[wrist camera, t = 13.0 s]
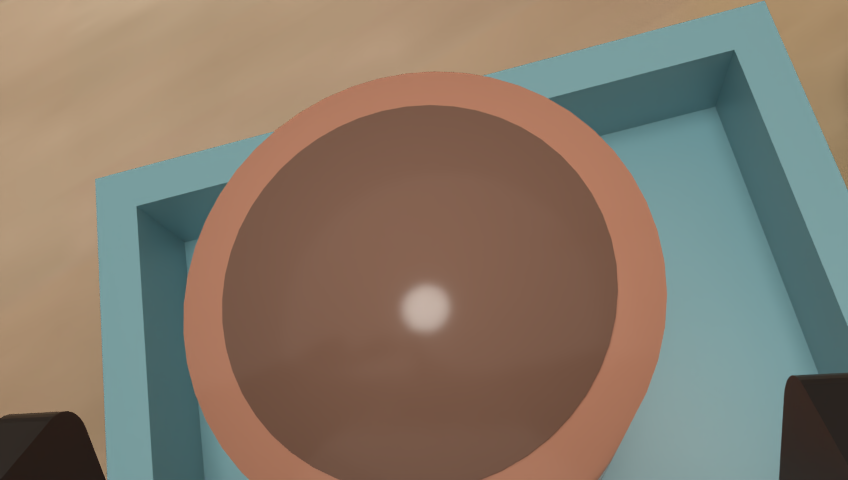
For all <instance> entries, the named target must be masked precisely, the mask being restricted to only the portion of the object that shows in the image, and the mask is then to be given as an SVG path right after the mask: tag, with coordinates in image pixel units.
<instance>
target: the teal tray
mask: <svg viewBox="0 0 848 480" xmlns="http://www.w3.org/2000/svg"><path fill="white" fill-rule="evenodd" d="M484 76H485V77H491V78H495V79H498V80H502V81H505V82H509V83H512V84H515V85H519V86H521V87H523V88H526V89H528V90H530V91H533V92H535V93H537V94H540V95H542V96H544V97H546V98H548V99H550V100H551V101H553V102H555V103H556V104H558V105H560V106H562V107H563V108H565V109H567V110H568V111H570V112H571V113H573V114H574V115H575V116H576V117H578V118H579V119H580V120H582V121H583V122H584V123H585V124H587V125H588V126H589V127H591V128H592V129H593V130H594V131H595V132H596V133H597V134H598V135H599V136H600V137H601V138H602V139H603V140H604V141H605V142H606V143H607V144H608V145H609V146H610V147H611V148H612V149H613V150H614V151H615V153H616V154H617V156H618V157H619V158H620V160H621V161H622V162H623V164H624V165H625V166H626V168H627V169H628V170H629V172H630V173H631V174H632V176H633V178H634V180H635V181H636V183H637V185H638V187H639V189H640V191H641V192H642V194H643V196H644V198H645V200H646V202H647V204H648V207H649V209H650V212H651V215H652V217H653V220H654V223H655V225H656V228H657V231H658V235H659V239H660V244H661V248H662V253H663V257H664V262H665V274H666V286H667V304H666V320H665V330H664V335H663V339H662V344H661V349H660V354H659V359H658V362H657V365H656V368H655V371H654V373H653V376H652V379H651V382H650V384H649V387H648V390H647V393H646V395H645V397H644V399H643V401H642V402H641V404H640V406H639V408H638V410H637V412H636V414H635V416H634V418H633V420H632V422H631V424H630V426H629V428H628V430H627V432H626V434H625V436H624V438H623V439H622V441H621V443H620V445H619V447H618V449H617V451H616V453H615V455H614V457H613V459H612V461H611V463H610V465H609V467H608V469H607V471H606V472H605V474H604V476H603V478H602V480H779V469H780V453H781V436H782V419H783V403H784V390H785V385H786V382H787V379H788V378H789V377H790V376H791V375H810V374H829V373H848V190H847V188H846V185H845V183H844V181H843V178H842V176H841V174H840V172H839V169H838V167H837V165H836V162H835V160H834V158H833V156H832V153H831V151H830V149H829V147H828V144H827V142H826V140H825V137H824V135H823V133H822V131H821V128H820V126H819V124H818V122H817V119H816V117H815V115H814V112H813V110H812V108H811V106H810V103H809V101H808V99H807V96H806V94H805V92H804V90H803V87H802V85H801V83H800V81H799V78H798V76H797V74H796V71H795V69H794V67H793V65H792V62H791V60H790V58H789V56H788V53H787V51H786V49H785V46H784V44H783V42H782V40H781V37H780V35H779V33H778V30H777V28H776V26H775V24H774V21H773V19H772V17H771V15H770V12H769V10H768V8H767V5H766V3H765V1H762V2H758V3H754V4H751V5H747V6H743V7H739V8H736V9H732V10H728V11H724V12H721V13H717V14H713V15H709V16H706V17H702V18H698V19H694V20H691V21H687V22H683V23H679V24H676V25H672V26H668V27H664V28H661V29H657V30H653V31H649V32H646V33H642V34H638V35H634V36H631V37H627V38H623V39H619V40H616V41H612V42H608V43H604V44H601V45H597V46H593V47H589V48H586V49H582V50H578V51H574V52H571V53H567V54H563V55H559V56H556V57H552V58H548V59H544V60H541V61H537V62H533V63H529V64H526V65H522V66H518V67H514V68H511V69H507V70H503V71H499V72H496V73H492V74H488V75H484ZM272 133H273V132H270V133H267V134H263V135H259V136H255V137H252V138H248V139H244V140H240V141H237V142H233V143H229V144H225V145H222V146H218V147H214V148H210V149H207V150H203V151H199V152H195V153H192V154H188V155H184V156H180V157H177V158H173V159H169V160H165V161H162V162H158V163H154V164H150V165H147V166H143V167H139V168H135V169H132V170H128V171H124V172H120V173H117V174H113V175H109V176H105V177H102V178H98V179H95V182H96V207H97V232H98V257H99V282H100V307H101V332H102V357H103V382H104V407H105V432H106V457H107V480H249V479H248V478H247V477H246V476H245V475H244V474H243V473H242V472H241V471H240V470H239V469H238V467H237V466H236V465H235V464H234V462H233V461H232V460H231V459H230V457H229V456H228V455H227V454H226V452H225V451H224V450H223V449H222V447H221V445H220V444H219V442H218V440H217V439H216V437H215V435H214V433H213V432H212V430H211V428H210V427H209V425H208V423H207V421H206V419H205V417H204V414H203V412H202V410H201V407H200V405H199V402H198V400H197V397H196V395H195V392H194V388H193V385H192V381H191V377H190V373H189V369H188V365H187V359H186V351H185V342H184V334H183V332H184V299H185V292H186V284H187V277H188V272H189V268H190V265H191V261H192V257H193V253H194V249H195V246H196V244H197V241H198V239H199V236H200V233H201V231H202V228H203V226H204V223H205V221H206V219H207V217H208V215H209V213H210V211H211V209H212V208H213V206H214V204H215V202H216V200H217V198H218V196H219V195H220V193H221V192H222V190H223V189H224V187H225V186H226V184H227V183H228V182H229V180H230V179H231V177H232V176H233V174H234V173H235V172H236V170H237V169H238V168H239V167H240V166H241V165H242V163H243V162H244V161H245V160H246V159H247V158H248V157H249V155H250V154H251V153H252V152H253V151H254V150H255V149H256V148H257V147H258V146H259V145H260V144H261V143H262V142H263V141H264V140H266V139H267V138H268V137H269V136H270V135H271V134H272Z"/></svg>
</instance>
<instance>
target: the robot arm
mask: <svg viewBox="0 0 848 480" xmlns="http://www.w3.org/2000/svg"><path fill="white" fill-rule="evenodd" d="M0 480H106V479H105V477H104V474H103V472H102V469H101V466H100V464H99V461H98V459H97V456H96V453H95V451H94V448H93V445H92V443H91V440H90V438H89V435H88V432H87V430H86V427H85V425H84V423H83V422H82V420H81V419H80V418H79V417H78V416H77V415H76V414H74V413H73V412H69V411H65V412H46V413H27V414H9V415H6V416H3V417H2V418H0ZM779 480H848V373H829V374H810V375H791V376H790V377H789V378H788V379H787V382H786V385H785V390H784V403H783V419H782V436H781V453H780V469H779Z"/></svg>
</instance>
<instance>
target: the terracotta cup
mask: <svg viewBox="0 0 848 480" xmlns="http://www.w3.org/2000/svg"><path fill="white" fill-rule="evenodd" d="M666 304H667V286H666V274H665V262H664V257H663V253H662V248H661V244H660V239H659V235H658V231H657V228H656V225H655V223H654V220H653V217H652V215H651V212H650V209H649V207H648V204H647V202H646V200H645V198H644V196H643V194H642V192H641V191H640V189H639V187H638V185H637V183H636V181H635V180H634V178H633V176H632V174H631V173H630V172H629V170H628V169H627V168H626V166H625V165H624V164H623V162H622V161H621V160H620V158H619V157H618V156H617V154H616V153H615V151H614V150H613V149H612V148H611V147H610V146H609V145H608V144H607V143H606V142H605V141H604V140H603V139H602V138H601V137H600V136H599V135H598V134H597V133H596V132H595V131H594V130H593V129H592V128H591V127H589V126H588V125H587V124H585V123H584V122H583V121H582V120H580V119H579V118H578V117H576V116H575V115H574V114H573V113H571V112H570V111H568V110H567V109H565V108H563V107H562V106H560V105H558V104H556V103H555V102H553V101H551V100H550V99H548V98H546V97H544V96H542V95H540V94H537V93H535V92H533V91H530V90H528V89H526V88H523V87H521V86H519V85H515V84H512V83H509V82H505V81H502V80H498V79H495V78H491V77H485V76H479V75H473V74H467V73H455V72H422V73H408V74H401V75H396V76H391V77H385V78H380V79H376V80H373V81H369V82H366V83H363V84H360V85H356V86H353V87H350V88H348V89H345V90H343V91H341V92H339V93H336V94H334V95H332V96H329V97H327V98H325V99H323V100H321V101H319V102H318V103H316V104H314V105H312V106H311V107H309V108H307V109H305V110H304V111H302V112H300V113H299V114H297V115H296V116H294V117H293V118H292V119H290V120H289V121H288V122H286V123H285V124H283V125H282V126H281V127H279V128H278V129H277V130H275V131H274V132H273V133H272V134H271V135H270V136H269V137H268V138H267V139H266V140H264V141H263V142H262V143H261V144H260V145H259V146H258V147H257V148H256V149H255V150H254V151H253V152H252V153H251V154H250V155H249V157H248V158H247V159H246V160H245V161H244V162H243V163H242V165H241V166H240V167H239V168H238V169H237V170H236V172H235V173H234V174H233V176H232V177H231V179H230V180H229V182H228V183H227V184H226V186H225V187H224V189H223V190H222V192H221V193H220V195H219V196H218V198H217V200H216V202H215V204H214V206H213V208H212V209H211V211H210V213H209V215H208V217H207V219H206V221H205V223H204V226H203V228H202V231H201V233H200V236H199V239H198V241H197V244H196V246H195V249H194V253H193V257H192V261H191V265H190V268H189V272H188V277H187V284H186V292H185V299H184V332H183V334H184V342H185V351H186V359H187V365H188V369H189V373H190V377H191V381H192V385H193V388H194V392H195V395H196V397H197V400H198V402H199V405H200V407H201V410H202V412H203V414H204V417H205V419H206V421H207V423H208V425H209V427H210V428H211V430H212V432H213V433H214V435H215V437H216V439H217V440H218V442H219V444H220V445H221V447H222V449H223V450H224V451H225V452H226V454H227V455H228V456H229V457H230V459H231V460H232V461H233V462H234V464H235V465H236V466H237V467H238V469H239V470H240V471H241V472H242V473H243V474H244V475H245V476H246V477H247V478H248V479H249V480H602V478H603V476H604V474H605V472H606V471H607V469H608V467H609V465H610V463H611V461H612V459H613V457H614V455H615V453H616V451H617V449H618V447H619V445H620V443H621V441H622V439H623V438H624V436H625V434H626V432H627V430H628V428H629V426H630V424H631V422H632V420H633V418H634V416H635V414H636V412H637V410H638V408H639V406H640V404H641V402H642V401H643V399H644V397H645V395H646V393H647V390H648V387H649V384H650V382H651V379H652V376H653V373H654V371H655V368H656V365H657V362H658V359H659V354H660V349H661V344H662V339H663V335H664V330H665V320H666Z"/></svg>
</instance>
